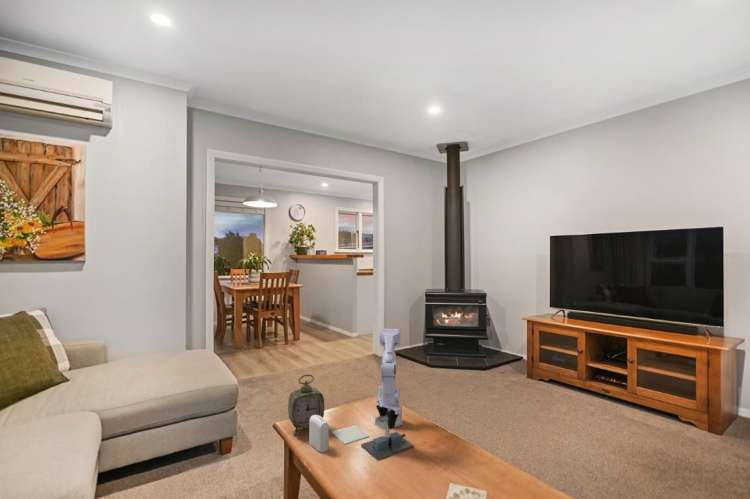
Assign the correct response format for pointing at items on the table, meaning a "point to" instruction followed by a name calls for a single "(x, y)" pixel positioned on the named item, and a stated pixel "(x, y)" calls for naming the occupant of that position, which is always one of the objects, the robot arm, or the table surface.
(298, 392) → the tabletop clock
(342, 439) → the sage mat
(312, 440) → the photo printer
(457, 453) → the table surface
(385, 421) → the gray rectangular frame
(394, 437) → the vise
